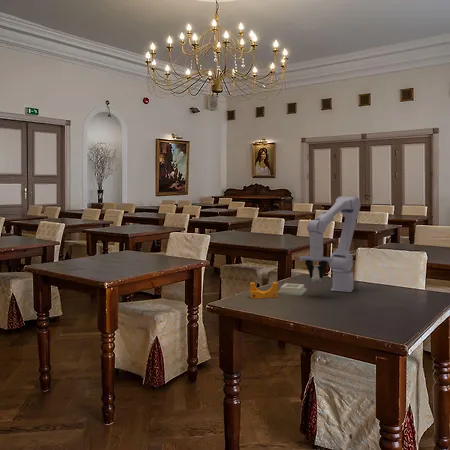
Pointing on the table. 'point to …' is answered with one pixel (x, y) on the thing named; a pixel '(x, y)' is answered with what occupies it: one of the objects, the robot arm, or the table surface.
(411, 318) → the table surface
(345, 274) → the robot arm
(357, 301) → the table surface
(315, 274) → the grey cylinder
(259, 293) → the pipe clamp
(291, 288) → the socket
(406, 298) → the table surface
